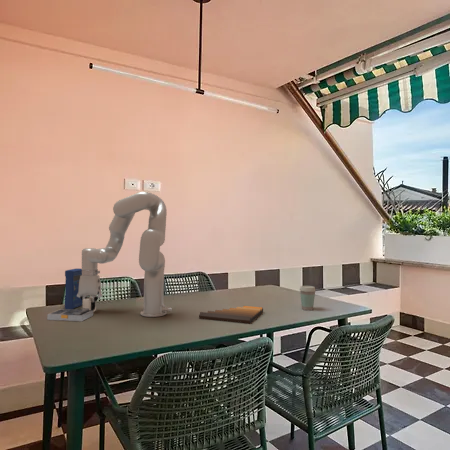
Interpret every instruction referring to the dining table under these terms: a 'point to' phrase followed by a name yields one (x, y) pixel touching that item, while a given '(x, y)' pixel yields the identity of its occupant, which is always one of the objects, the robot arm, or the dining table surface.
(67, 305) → the electronic device
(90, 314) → the rack
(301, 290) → the coffee cup
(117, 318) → the dining table surface
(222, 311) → the pan flute
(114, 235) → the robot arm
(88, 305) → the block
